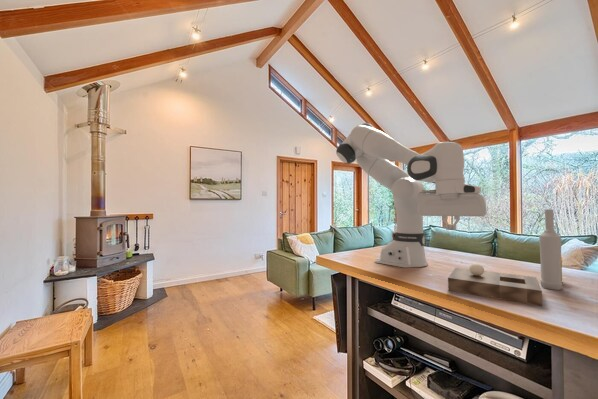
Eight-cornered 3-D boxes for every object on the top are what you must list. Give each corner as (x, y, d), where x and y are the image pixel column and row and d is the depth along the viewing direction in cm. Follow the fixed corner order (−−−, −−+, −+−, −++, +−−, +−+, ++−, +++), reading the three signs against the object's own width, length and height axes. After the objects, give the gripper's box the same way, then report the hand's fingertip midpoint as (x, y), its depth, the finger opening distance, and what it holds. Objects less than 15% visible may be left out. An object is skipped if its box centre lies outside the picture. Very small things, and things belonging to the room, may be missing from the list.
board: (448, 290, 85) (448, 277, 85) (455, 278, 97) (455, 267, 97) (542, 305, 71) (541, 290, 71) (536, 290, 84) (536, 277, 84)
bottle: (562, 287, 86) (560, 209, 87) (562, 291, 83) (560, 209, 83) (541, 284, 90) (538, 209, 90) (540, 287, 86) (537, 209, 87)
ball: (468, 276, 86) (468, 263, 86) (470, 273, 90) (469, 261, 90) (483, 277, 84) (483, 265, 84) (484, 275, 87) (484, 262, 87)
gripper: (415, 190, 95) (416, 229, 95) (485, 187, 83) (486, 231, 83) (419, 190, 100) (420, 227, 100) (486, 187, 88) (487, 230, 88)
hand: (451, 229), depth 91 cm, fingers closed
